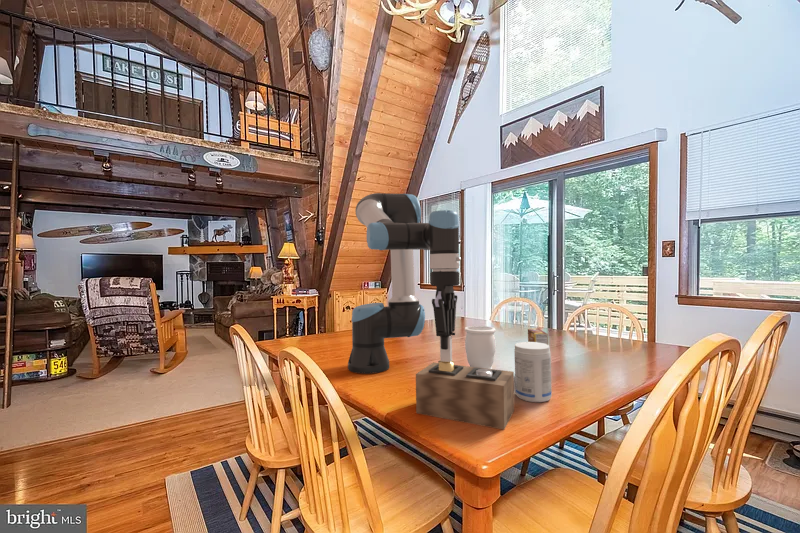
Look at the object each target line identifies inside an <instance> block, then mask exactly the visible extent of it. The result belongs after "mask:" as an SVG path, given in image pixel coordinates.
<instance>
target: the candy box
mask: <svg viewBox="0 0 800 533" xmlns="http://www.w3.org/2000/svg"><path fill="white" fill-rule="evenodd" d="M527 342H539V343H544V344H547V345H549V333H547V332H545V331H544V330H542V329H540V328H527Z"/></svg>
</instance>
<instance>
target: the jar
mask: <svg viewBox="0 0 800 533" xmlns="http://www.w3.org/2000/svg"><path fill="white" fill-rule="evenodd" d="M464 331H465V332H466V334H465V340H464V342H465V344H464V345H465V347H464V348H465V353H466V354H465V355H466V359H467V362H468V364H469V367H477V368H486V369H493V365H494V362H495V355H496V349H497V345H496V344H497V343H496V338H495V336H496V335H495V332H496V328H495V327H491V326H487V325H486V326H485V325H484V326H483V325H472V326H471V325H470V326H465V327H464Z"/></svg>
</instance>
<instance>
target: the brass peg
mask: <svg viewBox="0 0 800 533" xmlns="http://www.w3.org/2000/svg"><path fill="white" fill-rule="evenodd" d="M437 363H438V367H439V370H440V371H448V372H453V371H454V365H455V361H454V360H452V361H451V362H444V361H440V360H438V362H437Z"/></svg>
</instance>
